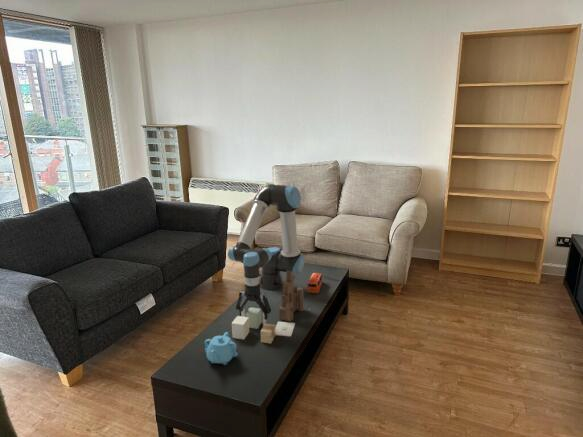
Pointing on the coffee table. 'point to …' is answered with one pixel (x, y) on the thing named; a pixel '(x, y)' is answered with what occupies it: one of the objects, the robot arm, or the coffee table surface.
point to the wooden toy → (290, 298)
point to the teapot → (220, 349)
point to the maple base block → (268, 333)
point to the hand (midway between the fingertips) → (253, 323)
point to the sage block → (254, 317)
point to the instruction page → (284, 328)
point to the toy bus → (314, 283)
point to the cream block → (240, 327)
